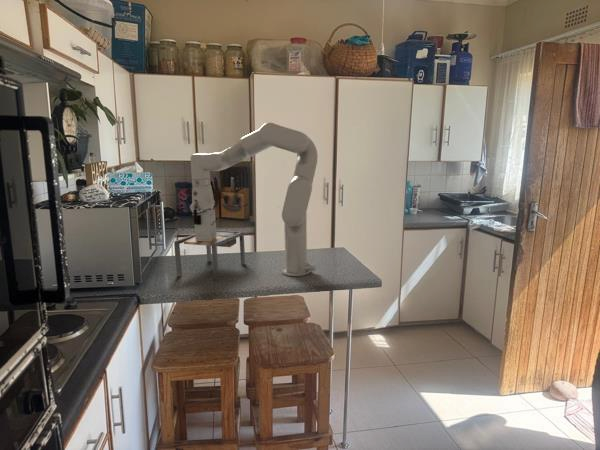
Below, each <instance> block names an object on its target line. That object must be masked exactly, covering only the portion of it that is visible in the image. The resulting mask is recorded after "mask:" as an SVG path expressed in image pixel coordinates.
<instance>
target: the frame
mask: <svg viewBox="0 0 600 450" xmlns="http://www.w3.org/2000/svg"><path fill="white" fill-rule="evenodd" d="M216 232H228V233H236V234H234V235H232V236H229V237H227V238H225V239H222V240H220V241H217V242H215V243H213V244H212V246H206V245H205V248H206V260H207V262H208V263H211V262H212V271H213V272H212V273H213V281H216V282H217V281H219V280H220V277H219V276H220V275H219V261H218V260H219V259H218V248H217V247H220V246H219V245H221V244H224V243H226V242H228V241H231V240H233V239H235V238H236V239H237V238H239V251H240V265H241V266H244V265H246V252H245V234H244V231H235V230H217V229H216ZM193 237H195V233H194V234H191V235H188V236H185V237H183V238H180V239H177V240H174V241H173V245H174V254H175V255H174V257H175V268H176V277H178V278H179V277H182V276H183V272H182V261H181V260H182V259H181V257H182V256H181V248H180V244H182V243H183V244H184V241H186V240H189V239H191V238H193Z"/></svg>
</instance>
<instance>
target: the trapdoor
mask: <svg viewBox="0 0 600 450" xmlns="http://www.w3.org/2000/svg"><path fill="white" fill-rule="evenodd" d="M234 234H236V233H228V232H216V235H217V237H216V238H214V239H213V240H212V241H211V242H209V241H196V237H193V238H191V239H189V240H186V241H184V242H183V245H193V246H205V247H206V246H211V247H212V244H213V243H215V242H217V241H220V240H222V239H225V238H227V237H229V236H232V235H234ZM236 244H237V238H235V239H233V240H231V241H228V242H226V243H224V244H221V245H219V246H218V247H221V248H231V247H233V246H234V245H236Z"/></svg>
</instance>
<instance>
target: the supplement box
mask: <svg viewBox="0 0 600 450" xmlns="http://www.w3.org/2000/svg"><path fill="white" fill-rule="evenodd" d="M197 212H198V211H197ZM199 215H200V216H201V225H195V224H194V234H195V237H196V241H209V242H211V241H212V240H213V239H214V238H216V237H217V235H216V230H217V222H216V219H217V218H216V209H214V210H201V212H200V214H199Z"/></svg>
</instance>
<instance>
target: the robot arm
mask: <svg viewBox="0 0 600 450" xmlns="http://www.w3.org/2000/svg"><path fill="white" fill-rule="evenodd" d="M271 147H275V148H277V149H281V150H284V151H287V152H291V153H292V154H293V153H294V154H296V156H297V157H296V158H297V159H296V164H295V166H294V167H295V168H294V171H293V175H292V179H291V181H289V184H288V187H287V189H286V195H285V198H284V203H283V207H282V211H281V218H282V221H283V223H284V228H283V229H284V257H285V258H284V260H285V263H284V264H285V267H284V268H282V270H281V272H282V274H283V275H285V276H287V277H288V276H289V277H302V276H306V275H309V274H311V272H312V271H313V272H314V271H316V270H317V266H316V265H315V264H310V261H308V247H307V246H308V245H307V244H308V243H307V239H308V238H307V237H308V235H307V232H308V231H307V217H308V216H307V215H308V214H307V211H308V207H309V203H310V199H311V195H312V192H313V191H312V190H313V182H314V177H315V174H316V169H317V164H318V150H317V147H316V145H315V143H314V142H313V140H312V139H311V138H310V137H309V136H308V135H307V134H305V133H304V132H303V131H299V130H296V129H292V128H289V127H286V126H282V125H280V124H276V123H274V122H266V123H264V124H262V126H261V127H260V128H258V129H256V130H255V131H253V132H251V133H249V134H247V135H244V136H242V137H241V138H240V139H239V140H238V141H237V142H236V143H235V144H234V145H232V146H230V147H228V148H226V149H224V150H223V151H220V152H212V153H193V154H191V155H190V170H191V181H192V182H191V183H192V188H191V189H192V191H191V193H192V194H191V202H192V203H191V204H190V205H189V210H190V212H191V213H192V214H191V215H192V217H193V225H194V226H195V225H201V216H200V215H199V214H200V212H201V210H215V205H216V204H215V203H216V200H215V199H214V193H213V189H212V188H213V187H212V185H211V173H210V172H211V171H212V172H220V171H224V170H226V169H228V168H231V167H232V166H235V165H236V164H239V163H240V162H242V161H244V160H248V159H250V158H251V157H253V156H255V155H257V154H259V153H261V152H263V151H265V150H267V149H269V148H271ZM197 211H198V212H197Z"/></svg>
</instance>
